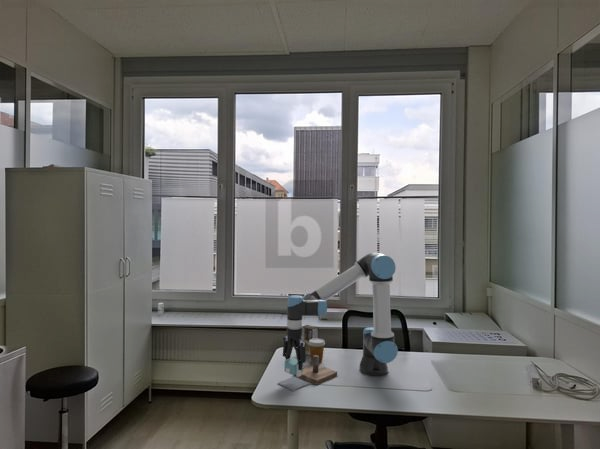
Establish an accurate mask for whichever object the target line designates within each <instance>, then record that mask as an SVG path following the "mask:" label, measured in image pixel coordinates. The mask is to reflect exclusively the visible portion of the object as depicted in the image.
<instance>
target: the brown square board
mask: <svg viewBox="0 0 600 449" xmlns="http://www.w3.org/2000/svg"><path fill="white" fill-rule="evenodd" d="M337 376H338V371H336V370H333V369H331V368H329V367H326V366H323V365H320V363H319V356H318V355H314V356H313V363H312V364H309V365H306V366H303V372H301V376H299V377H298V378H299V379H301V380H304V381H306V382H308V383H310V382H311V383H312V384H314V385H319V384H321V383H323V382H325V381H328V380H330V379H332V378H334V377H337ZM294 377H296V375H294Z"/></svg>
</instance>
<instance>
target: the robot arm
mask: <svg viewBox="0 0 600 449" xmlns="http://www.w3.org/2000/svg"><path fill="white" fill-rule="evenodd" d="M396 268H397V267H396V262H395V261H394V259H393V258H392V257H391V256H390V255H388V254H386V253H381V252H376V251H373V252H370V253H368V254H366V255H364V256H362V258H360V259H359V260H357V261H355V262H354V265H352V266H351V267H350V268H347V269H346V270H344V271H343V272H342V273H340V274H339V275H337V276H336V277H334V278H333V279H331V280H330V281H328V282H327V283H325V284H323V285H322V286H320V287H319V288H317V289H316V290H314V291H313V292H311V293H310V292H309V293H306V294H305V295H304V296H302V295H295V294H294V295H289V296H288V297H287V305H286V310H287V312H286V317H287V318H286V327H287V328H286V336H283V348H282V357H284V359H285V361H287V360H290V359H292V352H293V349H294V352H295V354H296V359H297V361H298V363H297V366H296V376H295V377H296V378H300V377H299V376H301V370H302V363H303V364H305V363H306V362H307V360H306V359H307V358H306V355H307V354H305V345H306V342H302V340H301V336H302V328H301V327H302V326H303V316H319V317H320V316H326V315H327V312H328V303H327V301H328V300H329V299H331V298H333V297H335V296H336V295H337V294H339V293H341V292H342V291H343V290H345V289H347V288H348V287H349V286H351V285H353V284H354V283H356V282H357V281H359V280H360V279H362V278H365V279H366V278H367V277H368V278H369V280H368V281H369V282H370V283H371V285H372V313H373V314H372V315H373V316H372V317H373V318H372V319H373V327H371V326H370V327H365V328H363V333H362V335H363V339H362V341H363V343H362V357H361V360H360V363H359V367H358V368H359V372H360V373H362V374H365V375H369V376H376V377H377V376H384V375H387V374H388V372H389V367H388V364H389V363H391V362H393V361H394V360H395V359H396V358H397V356H398V355H399V354H398V353H399V348H398V346H397V344H396V343H395V333H394V332H393V331H392V322H391V320H392V319H391V318H392V316H391V314H392V313H391V286H390V285H391V283H392V282H393V277H394V274H395V273H396Z"/></svg>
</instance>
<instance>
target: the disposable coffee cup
mask: <svg viewBox="0 0 600 449" xmlns="http://www.w3.org/2000/svg"><path fill="white" fill-rule="evenodd" d="M325 344H326V341H325V339H323V338H313V339H310V340H309V346H310V355H309V356H310V362H311V363H312V364H313V356H314V355H318V356H319V364H321V363H322V362H323V356H324V351H325V350H324V349H325Z"/></svg>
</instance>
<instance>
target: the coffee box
mask: <svg viewBox="0 0 600 449" xmlns="http://www.w3.org/2000/svg"><path fill="white" fill-rule="evenodd" d="M301 328H302V336H301V340H302V342H306V345H305V355H308V356H310V346H309V340H310V339H313V338H319V330H320V329H319V327H318V326H315V325H309V324H305V325H302V327H301ZM319 339H320V338H319Z"/></svg>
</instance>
